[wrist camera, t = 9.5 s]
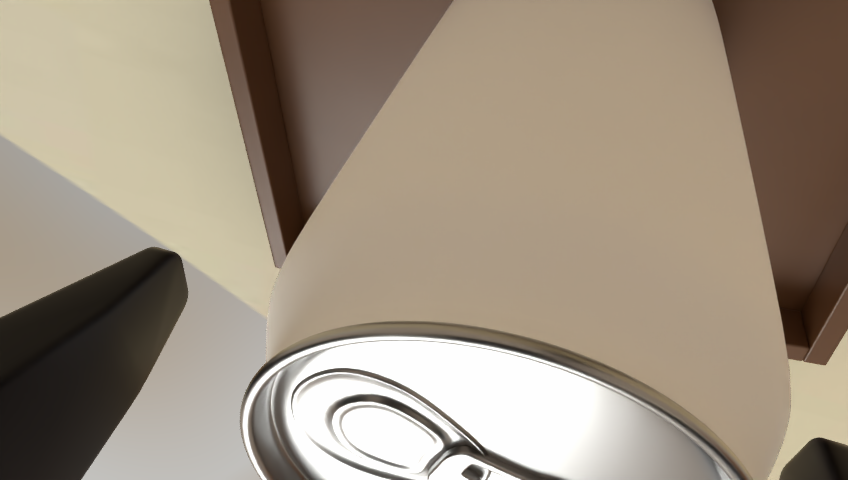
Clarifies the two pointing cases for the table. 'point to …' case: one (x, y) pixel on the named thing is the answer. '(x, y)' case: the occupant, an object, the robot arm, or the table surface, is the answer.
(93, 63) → the table surface
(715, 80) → the can
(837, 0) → the tray
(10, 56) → the table surface
